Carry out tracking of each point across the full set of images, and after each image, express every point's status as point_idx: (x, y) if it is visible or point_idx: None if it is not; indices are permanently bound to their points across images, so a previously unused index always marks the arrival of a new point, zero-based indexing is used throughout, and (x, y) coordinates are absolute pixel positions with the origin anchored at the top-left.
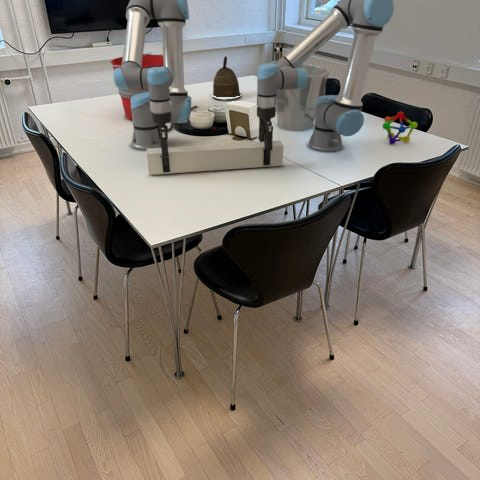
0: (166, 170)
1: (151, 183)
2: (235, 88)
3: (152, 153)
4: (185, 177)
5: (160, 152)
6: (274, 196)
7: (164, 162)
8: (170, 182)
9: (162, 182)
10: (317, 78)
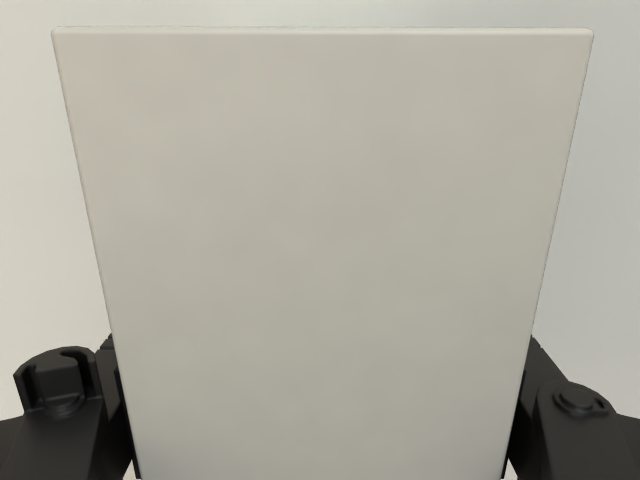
0: None
1: (10, 74)
2: None
3: (97, 215)
4: None
5: (166, 409)
6: None
7: (102, 348)
8: (50, 281)
9: (46, 203)
10: None
